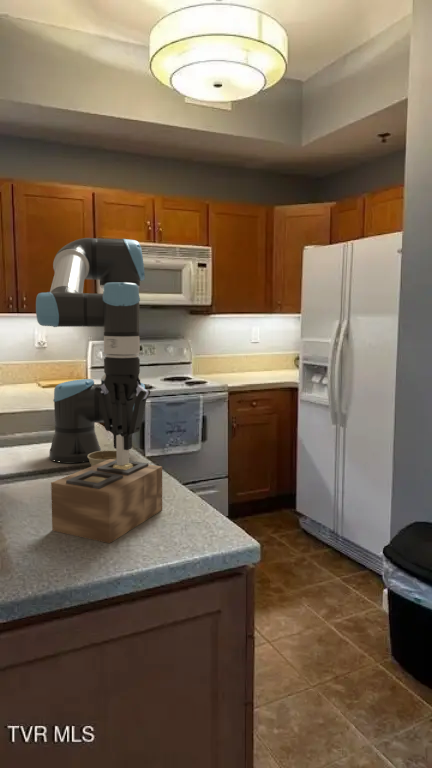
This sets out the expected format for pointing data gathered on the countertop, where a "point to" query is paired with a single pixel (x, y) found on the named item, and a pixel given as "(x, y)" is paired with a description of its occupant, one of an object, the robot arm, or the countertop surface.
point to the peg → (123, 466)
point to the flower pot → (101, 456)
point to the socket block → (106, 500)
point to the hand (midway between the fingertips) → (123, 463)
